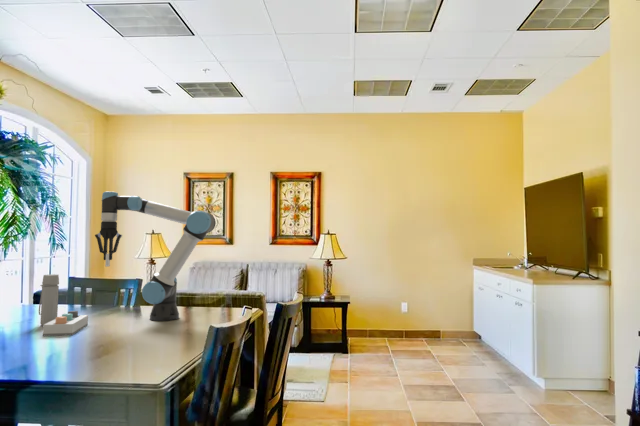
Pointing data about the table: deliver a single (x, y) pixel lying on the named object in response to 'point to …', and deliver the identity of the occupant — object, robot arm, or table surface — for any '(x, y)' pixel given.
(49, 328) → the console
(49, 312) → the water bottle
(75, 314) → the button charcoal
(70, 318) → the button teal
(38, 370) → the table surface
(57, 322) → the button terracotta
